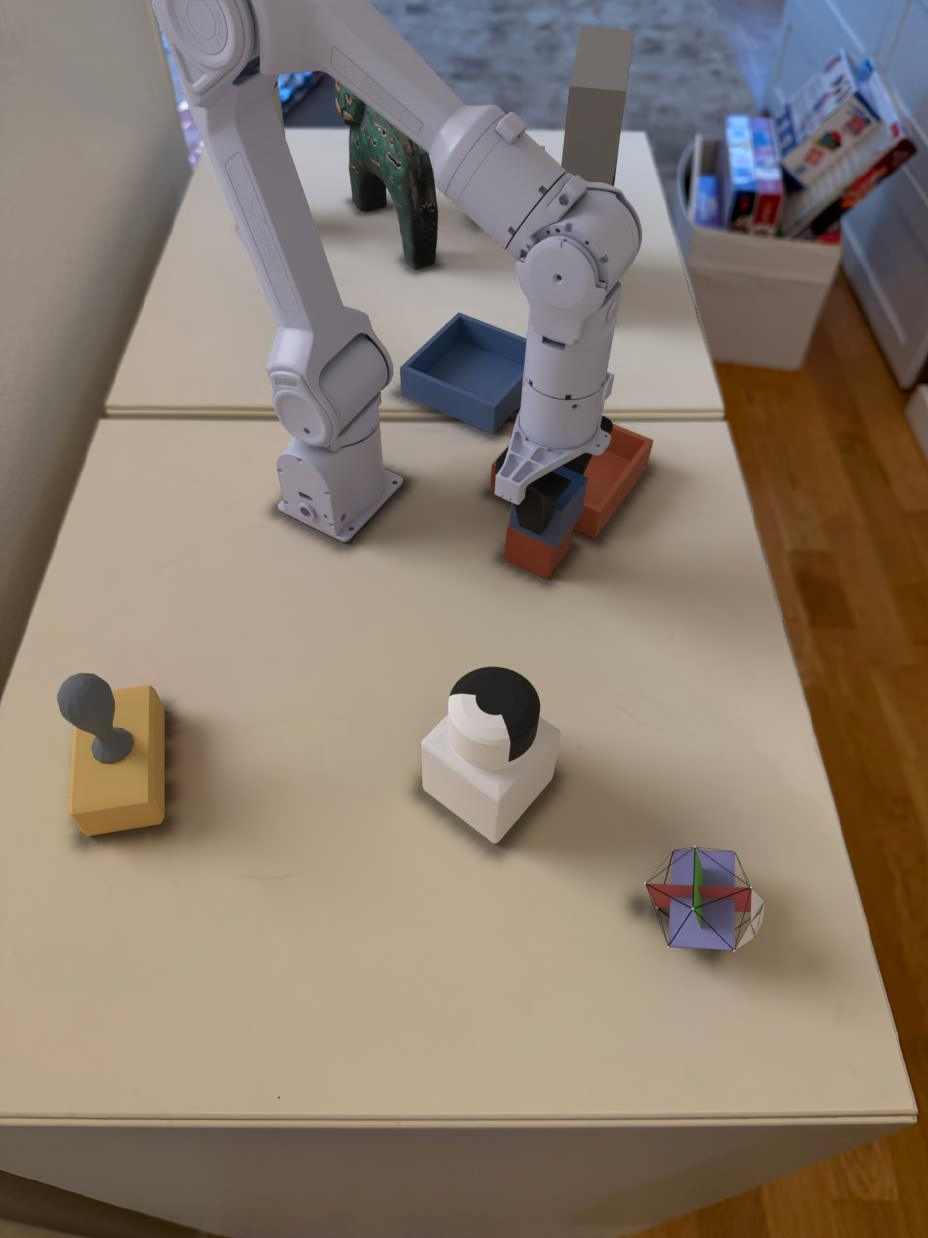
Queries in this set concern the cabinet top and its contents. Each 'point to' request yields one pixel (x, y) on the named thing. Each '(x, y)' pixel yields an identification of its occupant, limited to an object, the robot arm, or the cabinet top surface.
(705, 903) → the geometric puzzle
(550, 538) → the blue block
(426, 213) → the green carved animal figurine
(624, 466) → the terracotta bin
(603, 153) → the tall grey upright panel
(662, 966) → the cabinet top surface
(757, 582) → the cabinet top surface
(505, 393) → the blue bin
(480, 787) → the medicine bottle
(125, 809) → the rubber stamp
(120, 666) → the cabinet top surface
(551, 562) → the rust block
